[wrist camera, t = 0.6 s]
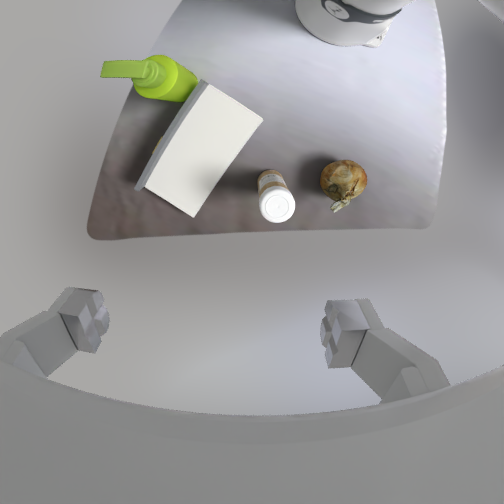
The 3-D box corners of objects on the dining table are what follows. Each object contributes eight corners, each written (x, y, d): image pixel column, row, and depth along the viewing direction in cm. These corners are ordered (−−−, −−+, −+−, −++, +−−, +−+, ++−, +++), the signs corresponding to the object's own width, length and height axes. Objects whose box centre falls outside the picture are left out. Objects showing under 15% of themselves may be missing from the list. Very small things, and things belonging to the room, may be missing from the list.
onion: (360, 193, 47) (378, 208, 40) (319, 201, 47) (331, 217, 40) (356, 153, 43) (374, 161, 36) (313, 160, 44) (325, 169, 37)
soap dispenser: (162, 68, 36) (106, 43, 18) (201, 72, 37) (165, 43, 19) (155, 99, 38) (94, 94, 21) (193, 104, 39) (151, 97, 22)
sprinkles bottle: (258, 195, 47) (260, 224, 35) (256, 169, 45) (258, 190, 33) (284, 193, 47) (295, 222, 35) (283, 168, 45) (295, 188, 33)
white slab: (206, 83, 38) (199, 78, 32) (262, 119, 41) (264, 119, 35) (145, 179, 45) (132, 188, 40) (196, 211, 48) (190, 224, 43)
